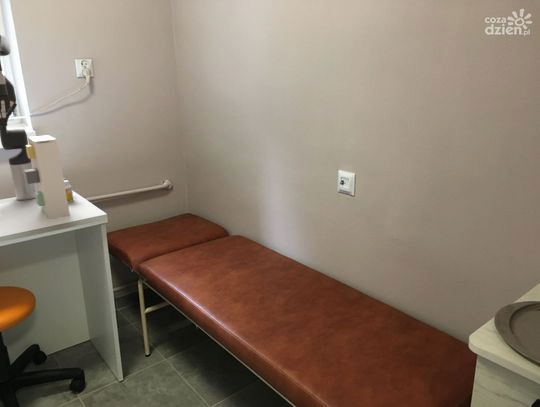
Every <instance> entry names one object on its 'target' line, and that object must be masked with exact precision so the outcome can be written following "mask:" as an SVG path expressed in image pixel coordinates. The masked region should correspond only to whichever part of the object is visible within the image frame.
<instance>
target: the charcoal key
mask: <svg viewBox="0 0 540 407" xmlns="http://www.w3.org/2000/svg"><path fill="white" fill-rule="evenodd" d="M32 168H33V169H26V170H24V174H25V179H26V182H27V183H28V184H32V183H36V184H37V183H39V182H40V178H39V173H38V169H36V168H34V167H32Z"/></svg>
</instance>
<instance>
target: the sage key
mask: <svg viewBox="0 0 540 407" xmlns="http://www.w3.org/2000/svg"><path fill="white" fill-rule="evenodd" d="M35 197H36V198H35V200H36V204H37V206H38V207H41V206H44V205H45V204H44V199H43V194H42V192H41V191H38V190H37V192H35Z"/></svg>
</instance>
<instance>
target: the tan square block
mask: <svg viewBox="0 0 540 407" xmlns="http://www.w3.org/2000/svg"><path fill="white" fill-rule="evenodd" d="M26 150H27V156H28V158H29V159H31V160H32V159H35V158H36V157H35V152H34V147H33V145H29V144H28V145H26Z"/></svg>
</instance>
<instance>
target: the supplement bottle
mask: <svg viewBox="0 0 540 407" xmlns="http://www.w3.org/2000/svg"><path fill="white" fill-rule="evenodd" d="M64 184H65V190H66V196H67V202H68V203H71V202H73V201H74V196H73V189H72V186H71V184H70V181H69V180H68V179H67V180H64Z"/></svg>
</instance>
